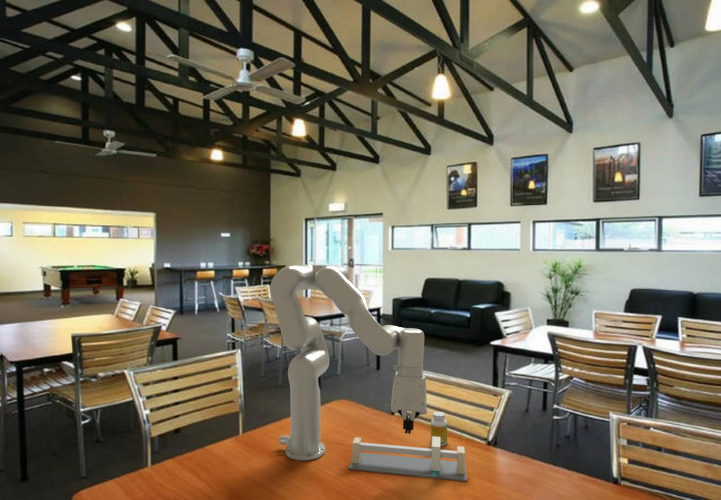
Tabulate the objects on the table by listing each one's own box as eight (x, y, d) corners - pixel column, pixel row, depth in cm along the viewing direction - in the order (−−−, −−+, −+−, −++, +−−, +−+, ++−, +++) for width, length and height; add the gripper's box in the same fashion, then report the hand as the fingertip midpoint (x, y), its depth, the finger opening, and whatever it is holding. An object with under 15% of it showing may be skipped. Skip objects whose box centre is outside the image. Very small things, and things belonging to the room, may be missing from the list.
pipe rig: (348, 469, 124) (348, 447, 124) (355, 453, 134) (355, 433, 134) (467, 481, 117) (467, 458, 117) (465, 463, 127) (465, 442, 127)
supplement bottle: (447, 447, 138) (447, 417, 138) (430, 445, 139) (430, 416, 139) (447, 439, 143) (447, 411, 144) (431, 438, 145) (431, 410, 145)
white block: (431, 470, 121) (431, 446, 121) (432, 458, 127) (432, 436, 127) (440, 470, 120) (440, 447, 120) (440, 459, 127) (440, 436, 127)
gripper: (383, 371, 123) (381, 434, 123) (435, 376, 120) (433, 440, 120) (387, 365, 131) (385, 423, 131) (435, 369, 128) (433, 429, 128)
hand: (408, 431), depth 126 cm, fingers closed
